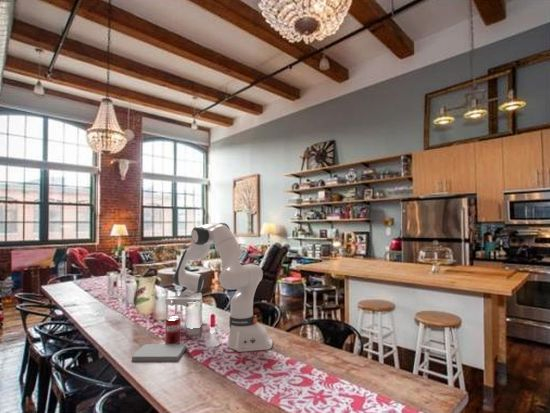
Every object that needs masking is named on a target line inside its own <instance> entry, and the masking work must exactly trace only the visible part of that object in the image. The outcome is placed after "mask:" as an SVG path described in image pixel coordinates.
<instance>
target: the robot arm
mask: <svg viewBox="0 0 550 413" xmlns="http://www.w3.org/2000/svg"><path fill="white" fill-rule="evenodd" d="M190 234H191V243H190V246H189V247H187V248H186V249H184V251H183V252H182V256H181V257H180V260H179V262H178V265H177V268H176V271H175V272H174V274H173V276H172V282H173V283H174V284H175V286H179V287H184V288H186V289H185V290H184V291H182V292H181V293H180V294H179V295H169V296H168V297H166V298H165V300H164V305H166V306H184V307H187V306H186V304H187V302H196V301H199V302H201V303H203V295H202V292H201V291H202V290H203V287H204V284H205V278H204V276H203V274H200V273H197V272H193V271H189V270H186V269H185V268H186V266H187V264H188V262H190V261H198V260H199V261H200V260H203V259H204V258H206V257H207V256H208V255H209V252H210V250H211V249H210V248H211V244H214V247H215V248H216V251H217V253H218V256H219V258H220V260H221V264H222V268H221V272H219V276H218V280H219V284H220V287H222V288H223V289H225V290H236V291H235V294H234V295H233V296H232V298H231V299H230V315H229V321H228V322H229V326H228V327H229V333H228V340H227V343H226V346H227V347H228V348H229V349H231V350H235V351H236V352H238V353H239V352H240V353H243V352H254V351H255V352H256V351H265V350H270V349H271V348H272V347H273V339H272V338H270V337H269V334H268V331H267V329H266V328H265V327H263V326H262V325H261V324H259V323H258V318H257V315H256V314H255V315H254V308H253V307H254V297H255V293H256V290H257V288H258V285H259V284H260V282H262V279H263V275H264V273H263V272H264V271H263V269H262V268H261V266H259V265H258V264H253V263H248V264H241V262H240V257H241V256H242V250H241V247H240V245H239V243H238V242H237V238H235V236H234V234H233V232H232V231H231V229H230V227H229V224H227V223H225V222H217V223H215V222H214V223H205V224H201V225H198V226H195V227H193V228H192V230H191V233H190Z"/></svg>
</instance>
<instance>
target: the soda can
mask: <svg viewBox="0 0 550 413" xmlns="http://www.w3.org/2000/svg"><path fill="white" fill-rule="evenodd" d="M181 321H182V320H181V317H180V316H169V317H166V318H165V323H164V324H165V327H164V328H165V330H164V331H165V333H164V335H165V337H164V343H165V344H178V343H180V342H181Z"/></svg>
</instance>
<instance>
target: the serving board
mask: <svg viewBox="0 0 550 413" xmlns="http://www.w3.org/2000/svg"><path fill="white" fill-rule="evenodd" d="M186 350H187V344H186V343H183V344H182V343H181V344H178V343H177V344H166V343H165V344H164V343H163V344H162V343H161V344H159V343H157V344H155V343H154V344H153V343H150V344H149V343H148V344H147V343H145V344H144V345H143V346H141V347H140V348H139V349H138V350H137V351H136V352H135V353H134V354H133V355H132V356H131V362H179V360H180V358H181V357H182V356H183V355H184V352H185V351H186Z"/></svg>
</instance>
